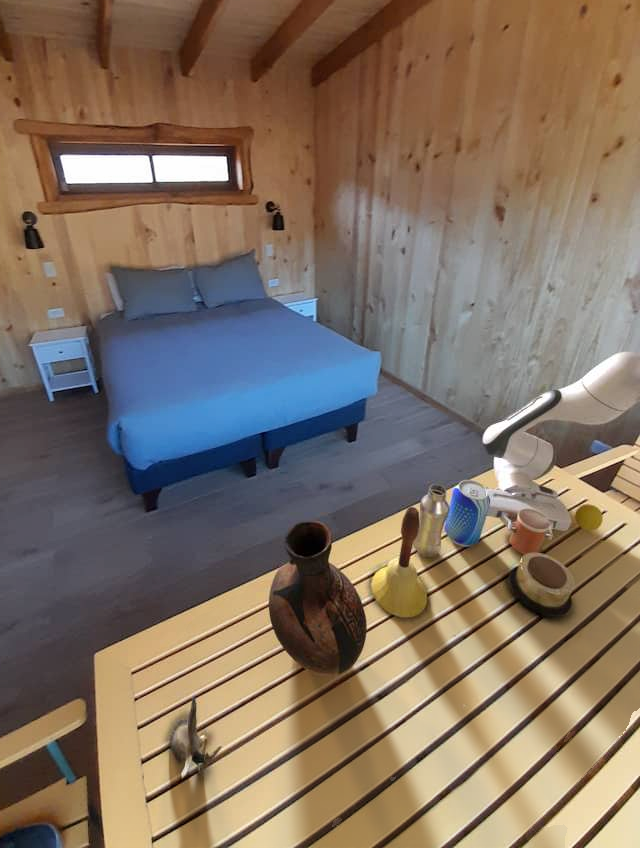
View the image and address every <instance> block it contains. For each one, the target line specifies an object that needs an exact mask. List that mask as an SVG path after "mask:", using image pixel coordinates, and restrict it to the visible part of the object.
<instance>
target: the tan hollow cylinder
mask: <svg viewBox="0 0 640 848" xmlns="http://www.w3.org/2000/svg"><path fill="white" fill-rule="evenodd" d="M507 584H508V589H509V591H510V593H511V595H512V596H513V598H514V599H515V600H516V601H517V603H518V604H519V605H520V606H521V607H522V608H524V609H525V610H527V611H528V612H530V613H531V614H533V615H535V616H537V617H540V618H543V619H547V620H561V619H563V618H565V617H566V616H567V615H568V614H569V612H570V610H571V608H572V605H573V599H572V595H571V594H572V592H573V590H574V588H575V580H574V577H573V575H572V573H571V571H570V570H569V569H568V568H567V567H566V566H565V565H564V564H563V563H562V562H560V561H559V560H558V559H556V558H554V557H552V556H550V555H548V554H545V553H541V552H539V553H535V552H534V553H528V554H526V555H525V554H523V556H522V557H521V559H520V561H519V563H518V565H516V566H515V567H513V568H512V569H511V570H510V572H509V576H508V579H507Z"/></svg>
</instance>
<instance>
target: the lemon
mask: <svg viewBox="0 0 640 848" xmlns="http://www.w3.org/2000/svg"><path fill="white" fill-rule="evenodd" d="M603 519H604V517H603V513H602V511H601V510H600V508H598V506H595V505H594V504H589V503H585V504H582V505H580V506H579V507H578V508H577V509H576V511H575V514H574V520H575V523H576V524H577V526H578V527H579V528H581V529H582V530H585V531H589V532H592V531H596V530H598V529H599V528H600V527H601V525H602V524H603Z"/></svg>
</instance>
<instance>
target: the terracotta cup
mask: <svg viewBox="0 0 640 848" xmlns="http://www.w3.org/2000/svg"><path fill="white" fill-rule="evenodd" d="M514 522H515V526H516V530H515V532H512V531H511V533H510V536H509V544H510V545H511V546H512V548H514V550H515V551H517V552H519V553H520V554H522V555H526V554H528V553H534V552H535V553H540V551H541V548H542V545H543V543H544V541H545V539H546V538H545V536H546V533H547V531H548V529H549V526H550V523H549V520H548V519H547V518H546V517H545V516H544V515H543V514H542V513H540V512H538V511H536V510H533V509H528V508H525V509H521V510H520V511H519V512H518V515H517V518H516V521H514Z"/></svg>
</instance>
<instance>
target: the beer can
mask: <svg viewBox="0 0 640 848" xmlns="http://www.w3.org/2000/svg"><path fill="white" fill-rule="evenodd" d="M486 487H487V486H485V485H483V484H482V483H480V482H479V481H477V480H472V479H464V480H462V481H460V482H459V483H458V484H457V485H456V486H455V487H454V488H453V489H452V493H451V498H450V502H449V510H450V512H449V515H448V517H447V519H446V521H445V523H444V531H445V534H446V535H447V537H448V538H449V540H450V541H452V542H453V543H454V544H456V545H458V546H461V547H472V546H475V545H476V544H478V543H479V541H480V539H481V535H482V532H483V529H484V526H485V522H486V518H487V517H488V516H487V512H488V509H489V505H490V498H489V495H488V491H487V489H486Z"/></svg>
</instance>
